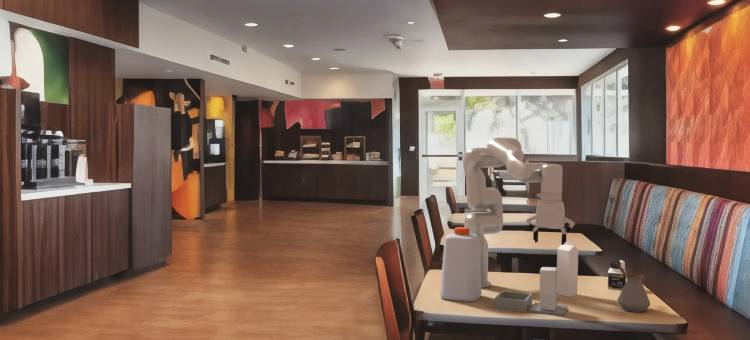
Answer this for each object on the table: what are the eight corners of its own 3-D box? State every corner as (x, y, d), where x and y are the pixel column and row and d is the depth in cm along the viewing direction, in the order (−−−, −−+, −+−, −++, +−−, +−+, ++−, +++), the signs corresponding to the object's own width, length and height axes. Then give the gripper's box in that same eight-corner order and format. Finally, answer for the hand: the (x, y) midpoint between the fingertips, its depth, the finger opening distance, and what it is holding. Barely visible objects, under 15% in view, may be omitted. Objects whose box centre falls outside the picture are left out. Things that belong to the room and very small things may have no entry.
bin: (494, 308, 231) (494, 297, 231) (502, 300, 243) (502, 290, 243) (525, 311, 227) (526, 301, 226) (532, 303, 238) (532, 293, 238)
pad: (529, 312, 226) (529, 309, 226) (535, 304, 237) (535, 302, 237) (563, 316, 221) (563, 313, 221) (567, 308, 232) (567, 306, 232)
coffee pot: (656, 313, 227) (657, 273, 226) (625, 313, 226) (626, 273, 225) (629, 298, 248) (630, 261, 247) (601, 298, 247) (602, 261, 247)
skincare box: (555, 311, 225) (556, 271, 224) (538, 309, 227) (539, 269, 226) (557, 305, 232) (557, 266, 232) (540, 304, 234) (541, 265, 234)
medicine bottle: (607, 288, 265) (608, 261, 265) (608, 285, 272) (608, 258, 271) (625, 290, 262) (626, 262, 262) (625, 286, 269) (626, 259, 269)
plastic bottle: (447, 291, 257) (448, 224, 256) (483, 294, 252) (484, 226, 251) (437, 299, 243) (438, 229, 242) (475, 303, 238) (476, 231, 237)
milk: (568, 297, 249) (569, 243, 248) (555, 294, 254) (557, 241, 253) (577, 295, 253) (578, 241, 252) (565, 292, 258) (566, 239, 257)
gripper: (525, 196, 228) (524, 242, 229) (574, 199, 221) (572, 247, 222) (529, 195, 235) (527, 239, 236) (576, 197, 228) (575, 243, 228)
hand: (549, 243), depth 229 cm, fingers open, 9 cm apart
